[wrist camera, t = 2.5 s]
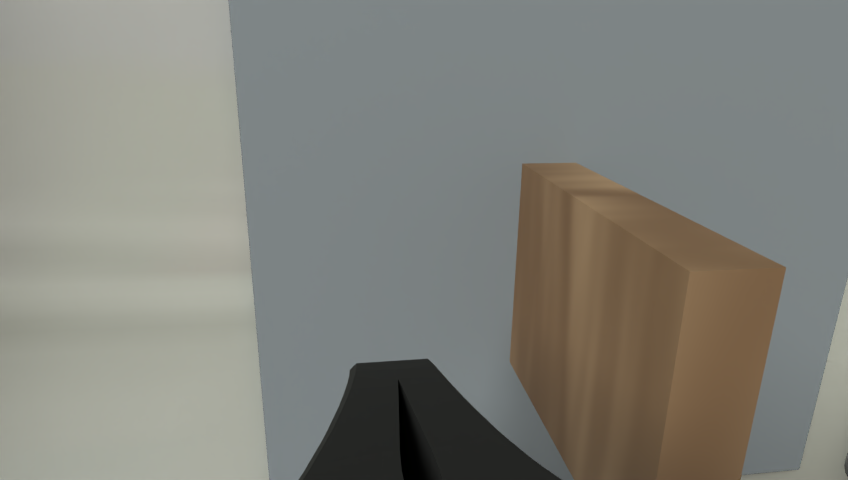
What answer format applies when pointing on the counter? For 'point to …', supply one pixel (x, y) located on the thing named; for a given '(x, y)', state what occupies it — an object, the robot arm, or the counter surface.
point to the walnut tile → (636, 330)
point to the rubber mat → (501, 181)
